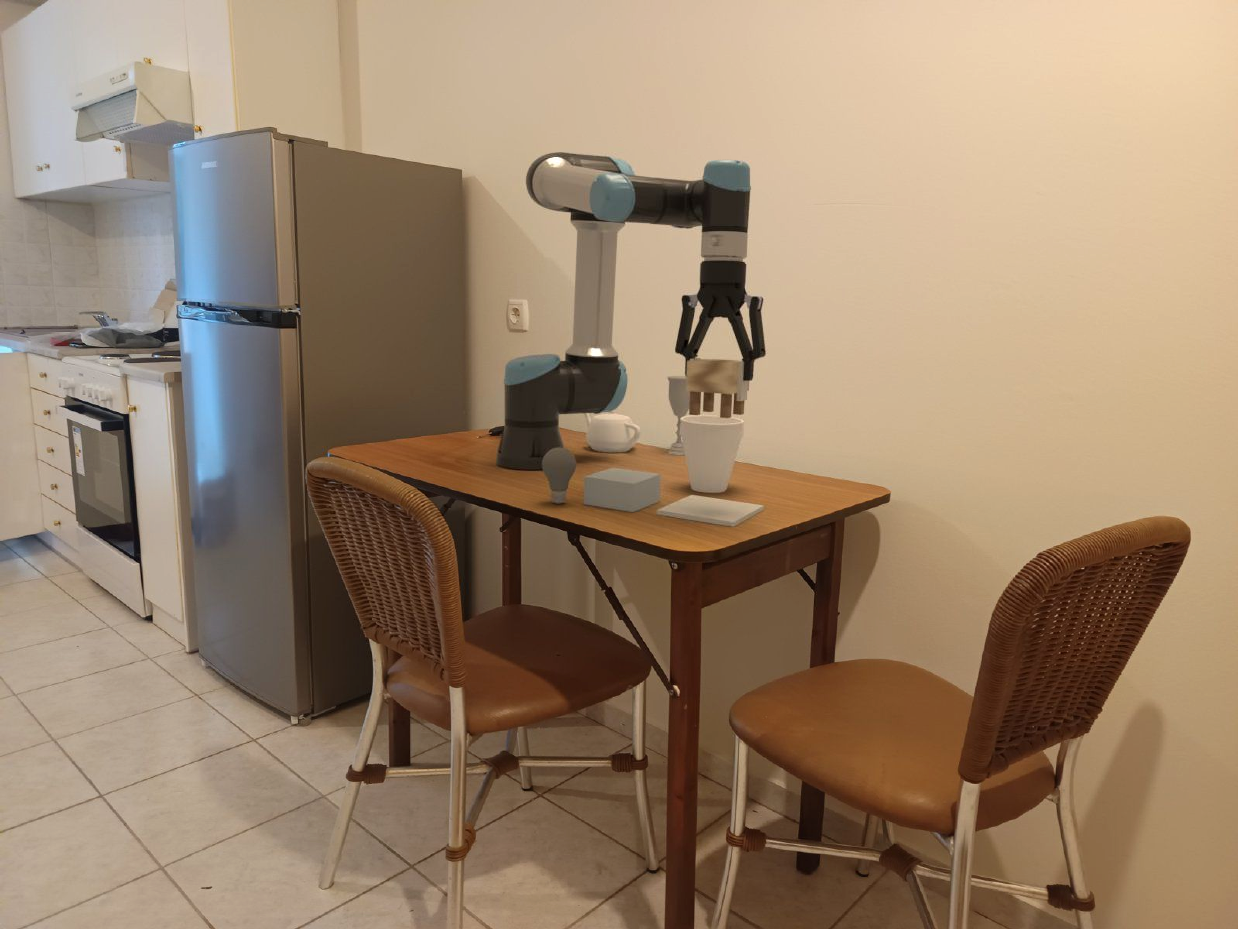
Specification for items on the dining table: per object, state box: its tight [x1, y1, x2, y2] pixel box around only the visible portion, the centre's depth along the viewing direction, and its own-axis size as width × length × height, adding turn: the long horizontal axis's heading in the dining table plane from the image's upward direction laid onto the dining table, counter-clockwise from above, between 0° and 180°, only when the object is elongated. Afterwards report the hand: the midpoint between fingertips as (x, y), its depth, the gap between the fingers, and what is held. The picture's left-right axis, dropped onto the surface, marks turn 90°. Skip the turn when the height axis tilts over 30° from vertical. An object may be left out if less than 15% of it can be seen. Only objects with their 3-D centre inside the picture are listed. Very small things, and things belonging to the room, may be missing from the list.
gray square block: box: [583, 467, 662, 513], centre depth 156 cm, size 10×10×5 cm
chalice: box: [666, 375, 690, 456], centre depth 206 cm, size 7×7×18 cm
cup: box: [679, 414, 745, 494], centre depth 168 cm, size 12×12×14 cm
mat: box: [656, 494, 765, 528], centre depth 151 cm, size 14×14×1 cm
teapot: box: [582, 409, 642, 453], centre depth 210 cm, size 20×12×10 cm, turn 43°
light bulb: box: [542, 447, 577, 505], centre depth 154 cm, size 6×6×10 cm
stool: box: [686, 358, 750, 418], centre depth 147 cm, size 8×8×9 cm
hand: (717, 398), depth 147 cm, fingers closed on stool, 8 cm apart
